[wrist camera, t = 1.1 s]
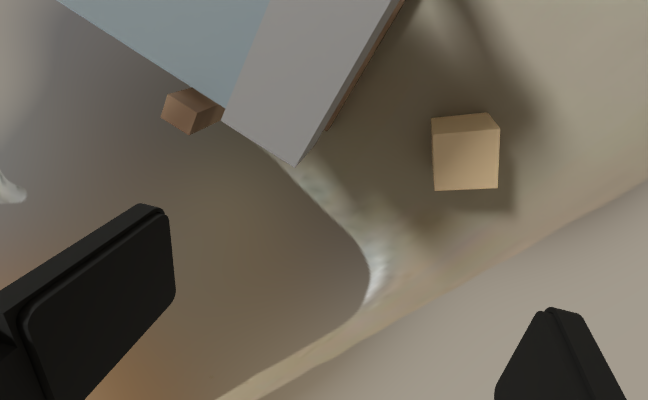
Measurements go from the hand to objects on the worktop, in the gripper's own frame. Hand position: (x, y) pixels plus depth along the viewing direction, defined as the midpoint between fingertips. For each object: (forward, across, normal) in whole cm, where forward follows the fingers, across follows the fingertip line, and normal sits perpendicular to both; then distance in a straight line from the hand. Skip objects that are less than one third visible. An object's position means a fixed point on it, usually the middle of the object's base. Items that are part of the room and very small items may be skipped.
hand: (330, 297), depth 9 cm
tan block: (+29, -6, +3) cm, 30 cm away
